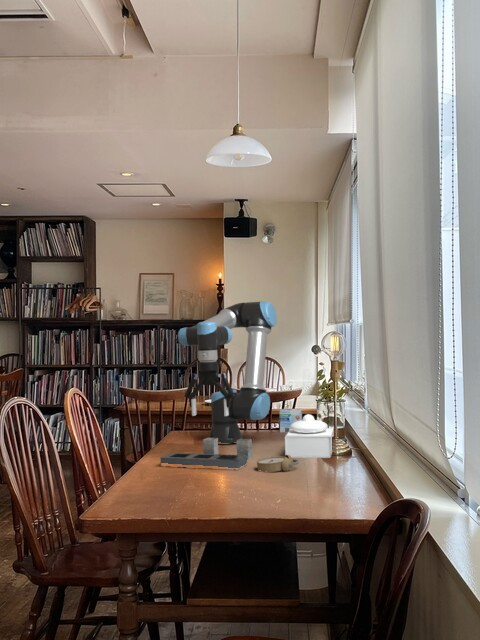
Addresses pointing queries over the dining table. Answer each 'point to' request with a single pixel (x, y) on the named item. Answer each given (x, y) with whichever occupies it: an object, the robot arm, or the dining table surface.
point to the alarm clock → (276, 463)
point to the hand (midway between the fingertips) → (210, 415)
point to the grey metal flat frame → (205, 459)
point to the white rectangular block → (244, 447)
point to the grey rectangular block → (210, 446)
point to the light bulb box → (289, 418)
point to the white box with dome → (309, 439)
